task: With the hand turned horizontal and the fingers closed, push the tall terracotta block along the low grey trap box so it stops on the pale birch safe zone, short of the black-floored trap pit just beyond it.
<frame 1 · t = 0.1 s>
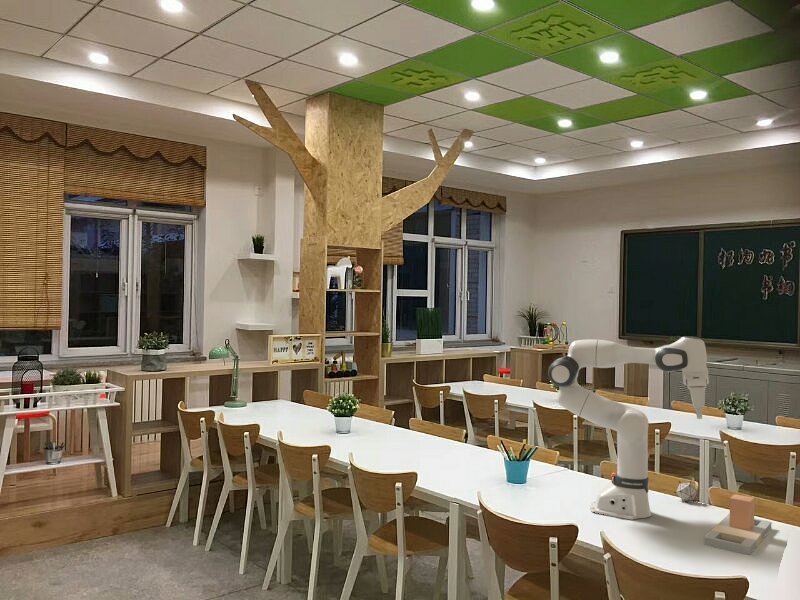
hand: (699, 416, 251), 39 cm above the table, tool pointing down, fingers open, 8 cm apart
grey faceted ball: (686, 501, 276), on the table
block: (741, 526, 238), point 2 cm above the table, touching trap box
trap box: (738, 536, 235), on the table
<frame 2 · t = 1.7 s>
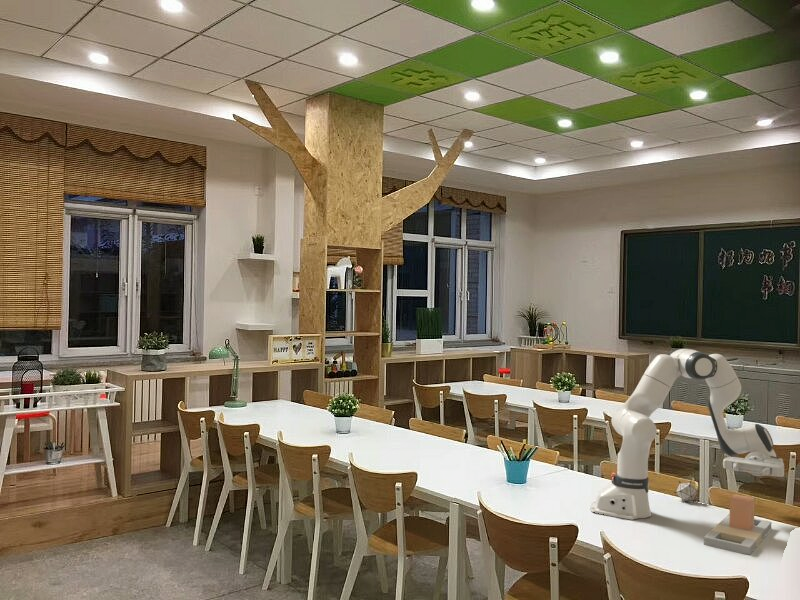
hand: (748, 470, 245), 20 cm above the table, tool horizontal, fingers open, 7 cm apart
nothing on the table moved.
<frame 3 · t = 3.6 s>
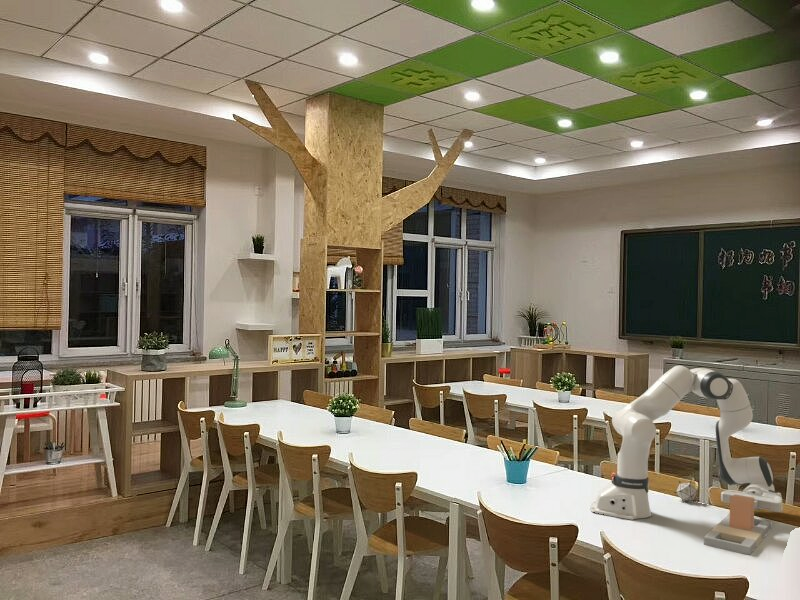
hand: (746, 505, 244), 8 cm above the table, tool horizontal, fingers closed
nothing on the table moved.
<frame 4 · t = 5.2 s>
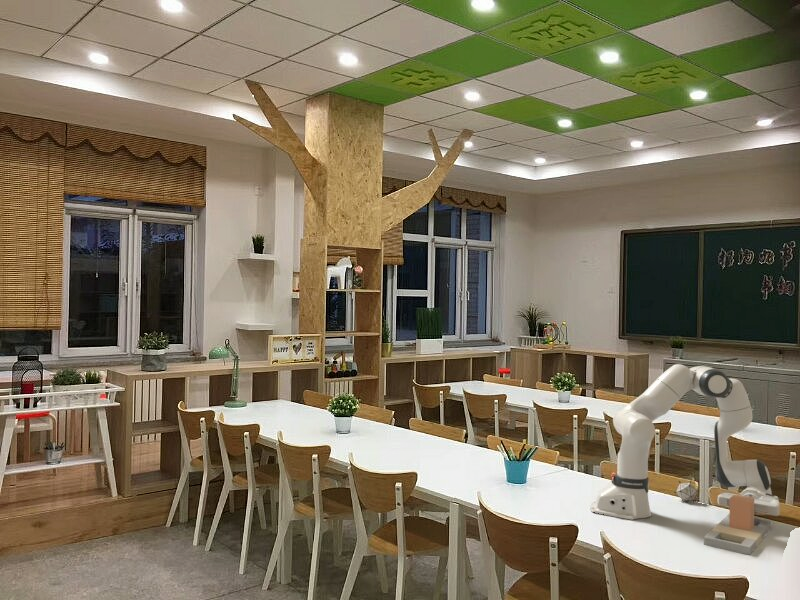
hand: (743, 508, 241), 8 cm above the table, tool horizontal, fingers closed, pressing on block
block: (741, 526, 238), point 3 cm above the table, touching gripper
everything else where it was.
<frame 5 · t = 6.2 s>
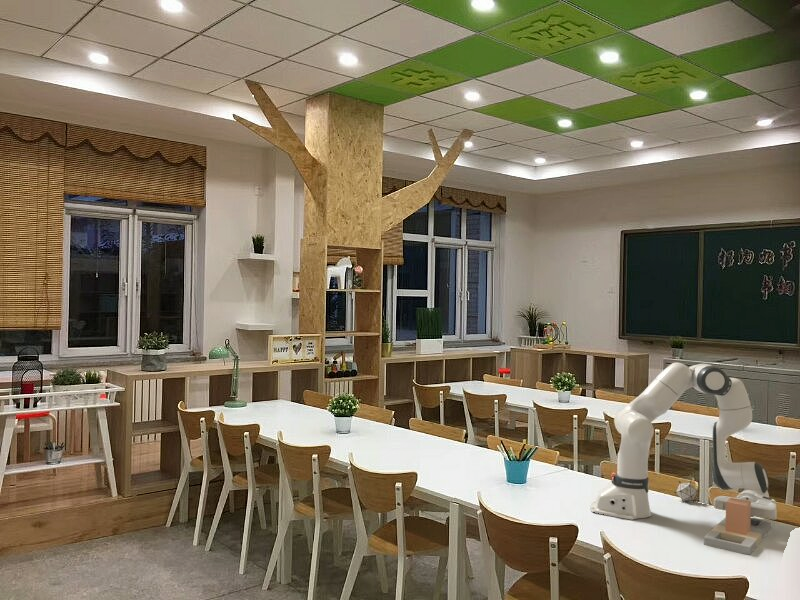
hand: (740, 512, 236), 8 cm above the table, tool horizontal, fingers closed, pressing on block
block: (737, 530, 234), point 3 cm above the table, touching gripper
everything else where it was.
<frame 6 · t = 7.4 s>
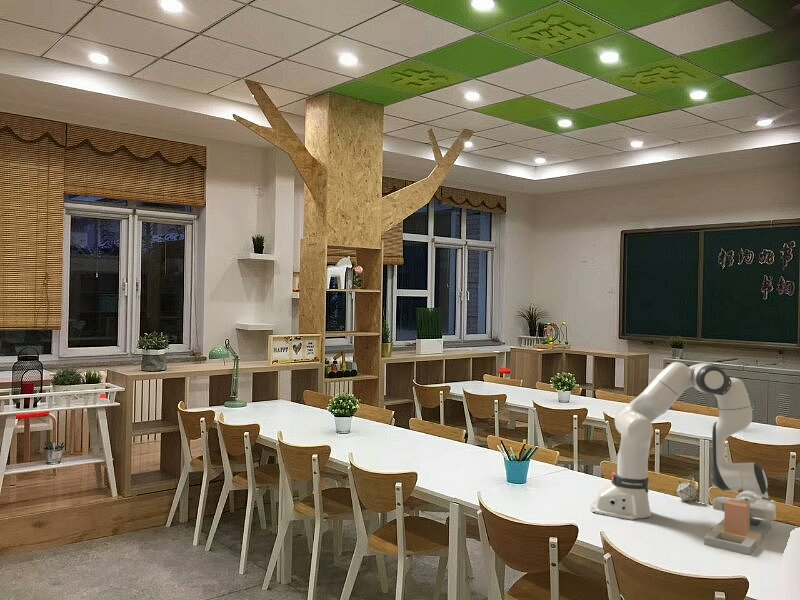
hand: (739, 513, 235), 8 cm above the table, tool horizontal, fingers closed
block: (736, 531, 233), point 2 cm above the table, touching trap box
everything else where it was.
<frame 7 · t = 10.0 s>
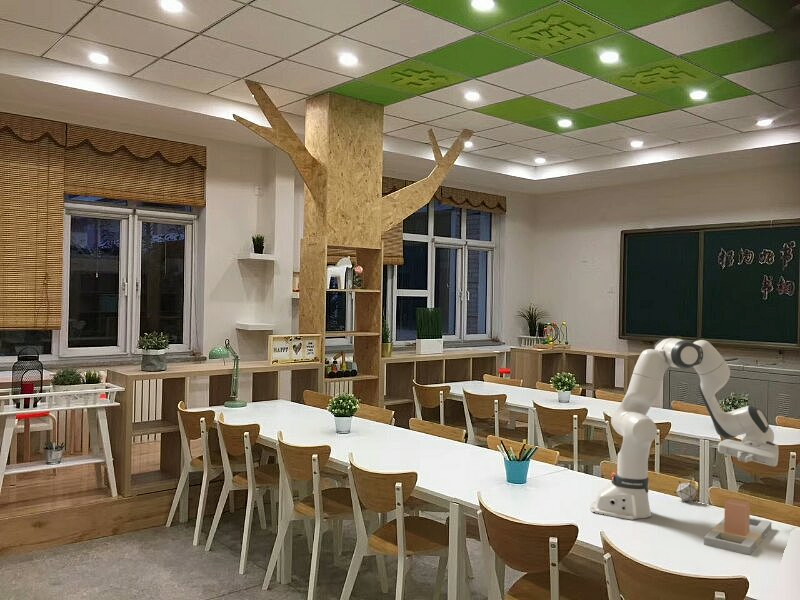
hand: (741, 459, 247), 24 cm above the table, tool horizontal, fingers closed
nothing on the table moved.
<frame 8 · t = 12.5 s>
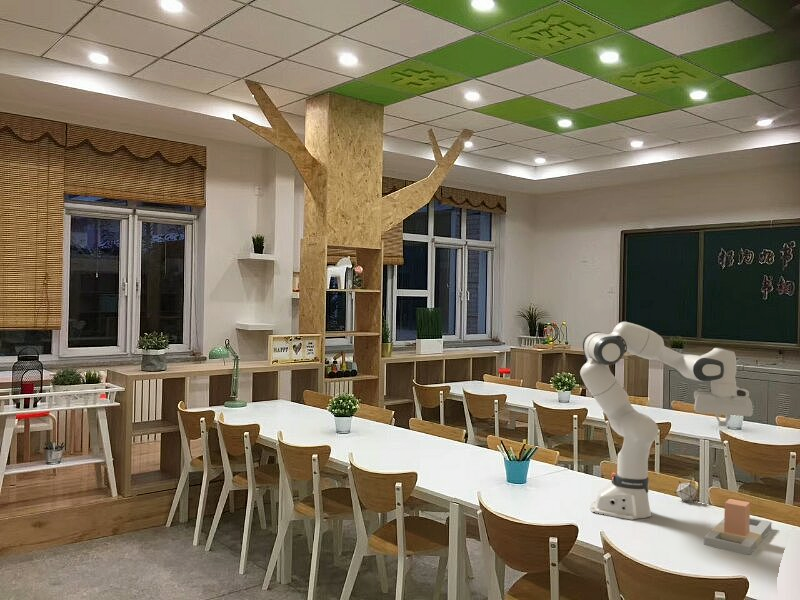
hand: (722, 426, 259), 34 cm above the table, tool pointing down, fingers closed
nothing on the table moved.
at the end: block inside the target area on the trap box (0.5 cm from its centre), point 2.5 cm above the trap box's base; block tilted 0° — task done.
